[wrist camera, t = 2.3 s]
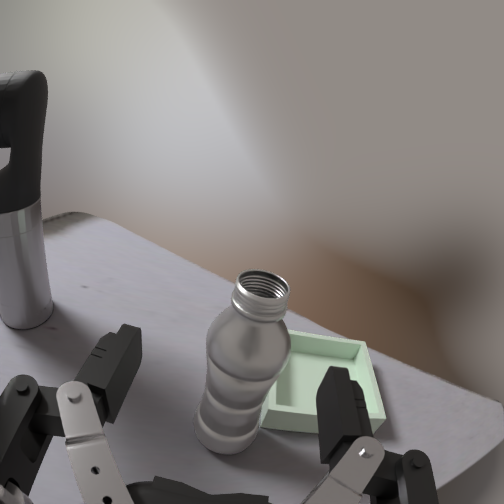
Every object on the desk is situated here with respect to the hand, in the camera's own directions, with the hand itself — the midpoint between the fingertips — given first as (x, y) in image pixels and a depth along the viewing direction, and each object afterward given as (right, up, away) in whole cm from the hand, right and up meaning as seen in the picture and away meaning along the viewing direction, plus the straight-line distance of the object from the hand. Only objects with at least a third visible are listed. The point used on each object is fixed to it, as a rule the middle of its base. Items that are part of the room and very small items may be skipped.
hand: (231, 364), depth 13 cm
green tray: (+9, -13, +26) cm, 30 cm away
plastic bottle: (-2, -15, +17) cm, 23 cm away
